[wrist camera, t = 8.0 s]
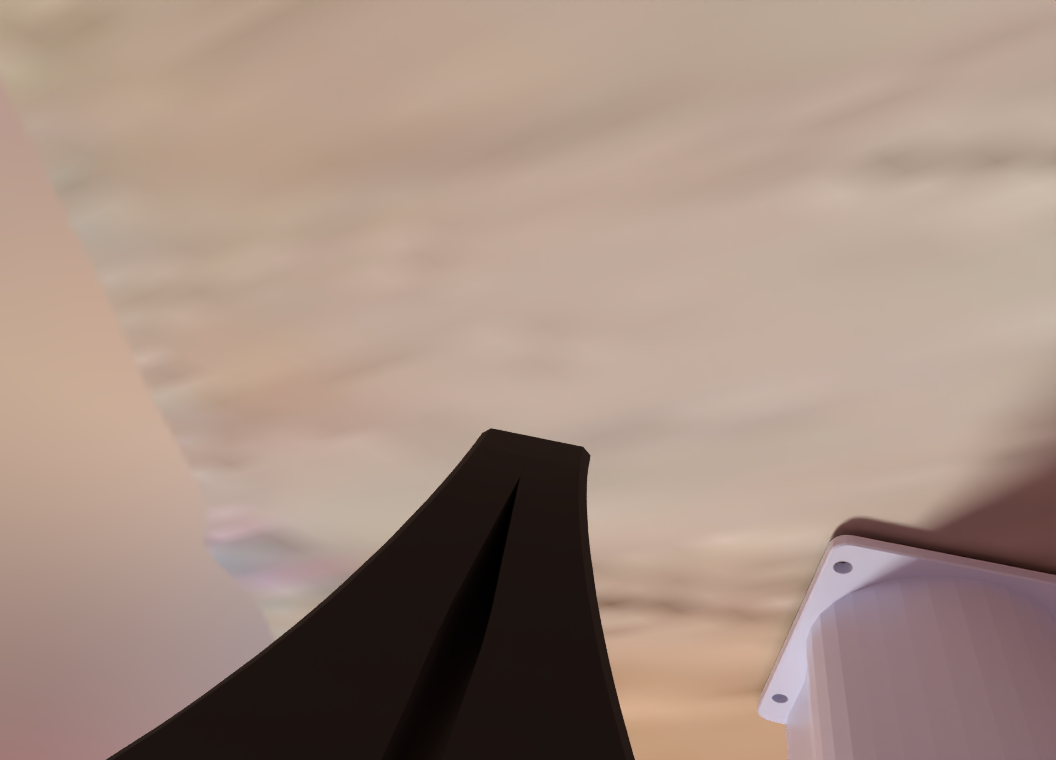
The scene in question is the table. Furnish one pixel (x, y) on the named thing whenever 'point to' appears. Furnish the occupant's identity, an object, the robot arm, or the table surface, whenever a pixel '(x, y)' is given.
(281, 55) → the table surface
